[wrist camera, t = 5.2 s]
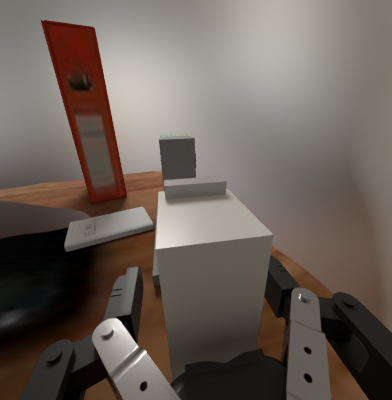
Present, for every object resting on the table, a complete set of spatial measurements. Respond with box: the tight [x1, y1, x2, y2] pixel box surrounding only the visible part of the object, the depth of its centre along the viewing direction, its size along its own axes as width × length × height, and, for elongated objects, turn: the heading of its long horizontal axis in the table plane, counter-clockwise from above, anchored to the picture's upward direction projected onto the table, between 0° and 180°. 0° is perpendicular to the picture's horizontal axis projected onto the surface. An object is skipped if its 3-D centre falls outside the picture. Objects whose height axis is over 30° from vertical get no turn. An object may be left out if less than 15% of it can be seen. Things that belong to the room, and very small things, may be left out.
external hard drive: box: [64, 207, 154, 252], centre depth 32 cm, size 2×8×12 cm
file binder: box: [41, 20, 127, 203], centre depth 45 cm, size 8×17×32 cm, turn 26°
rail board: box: [153, 135, 196, 287], centre depth 26 cm, size 8×18×14 cm, turn 9°
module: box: [155, 176, 273, 381], centre depth 12 cm, size 5×6×13 cm
